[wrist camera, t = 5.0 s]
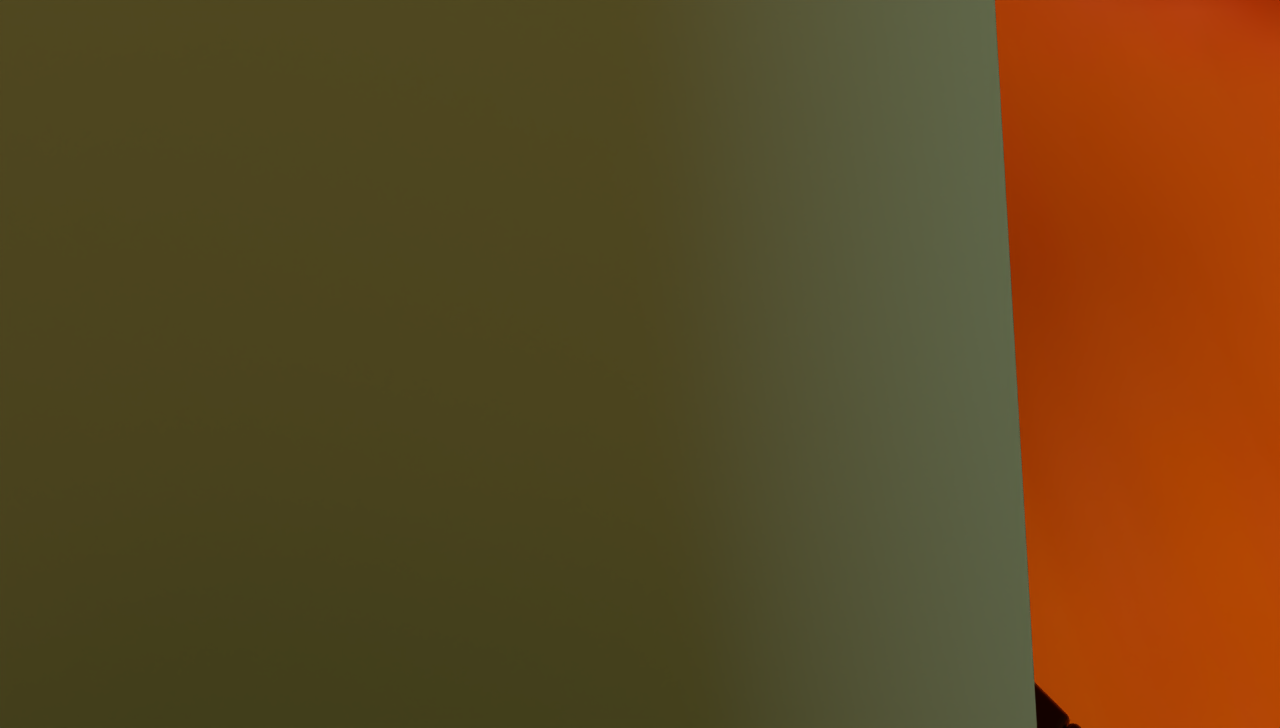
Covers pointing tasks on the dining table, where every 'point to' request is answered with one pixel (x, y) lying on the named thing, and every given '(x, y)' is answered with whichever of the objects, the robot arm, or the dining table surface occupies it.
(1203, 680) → the dining table surface
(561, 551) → the tall block
